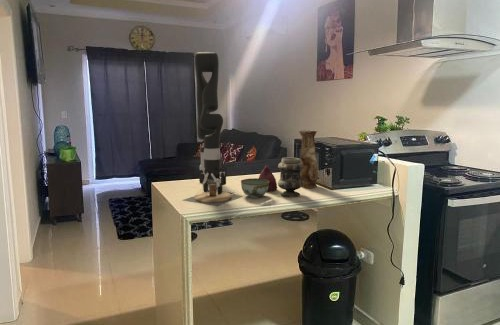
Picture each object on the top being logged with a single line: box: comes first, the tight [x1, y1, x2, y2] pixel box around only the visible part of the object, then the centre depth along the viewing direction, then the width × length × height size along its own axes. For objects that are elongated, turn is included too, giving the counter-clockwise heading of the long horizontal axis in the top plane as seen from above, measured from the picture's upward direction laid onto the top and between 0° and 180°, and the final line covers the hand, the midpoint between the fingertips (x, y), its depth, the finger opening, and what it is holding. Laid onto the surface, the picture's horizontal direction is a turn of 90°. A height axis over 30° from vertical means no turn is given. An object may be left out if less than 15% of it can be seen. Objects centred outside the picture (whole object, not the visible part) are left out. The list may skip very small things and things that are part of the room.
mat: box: [182, 194, 244, 207], centre depth 178 cm, size 20×20×1 cm
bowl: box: [240, 177, 270, 199], centre depth 181 cm, size 14×13×8 cm
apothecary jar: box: [277, 157, 303, 198], centre depth 185 cm, size 12×12×18 cm
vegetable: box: [258, 164, 278, 193], centre depth 195 cm, size 10×10×15 cm
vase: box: [298, 129, 319, 189], centre depth 202 cm, size 10×11×30 cm
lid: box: [194, 183, 232, 203], centre depth 177 cm, size 17×17×6 cm
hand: (212, 192), depth 178 cm, fingers open, 7 cm apart
